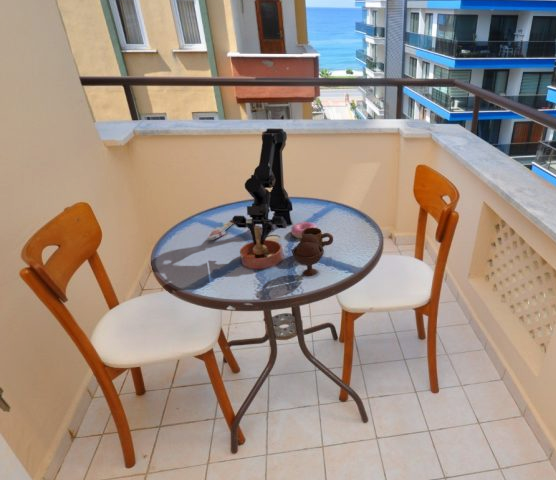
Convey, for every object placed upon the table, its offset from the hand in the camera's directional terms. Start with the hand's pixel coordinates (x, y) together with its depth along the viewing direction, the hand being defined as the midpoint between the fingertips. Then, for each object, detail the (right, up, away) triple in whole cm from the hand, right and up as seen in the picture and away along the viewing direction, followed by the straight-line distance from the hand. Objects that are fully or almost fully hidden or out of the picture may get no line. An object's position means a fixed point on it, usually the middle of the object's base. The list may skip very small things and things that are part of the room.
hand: (258, 244), depth 152 cm
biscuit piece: (+4, -5, +5) cm, 8 cm away
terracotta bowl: (0, -5, +5) cm, 8 cm away
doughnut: (+13, +7, +23) cm, 27 cm away
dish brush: (0, -5, +5) cm, 7 cm away
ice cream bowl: (+20, -11, -3) cm, 23 cm away
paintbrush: (-23, +8, +24) cm, 34 cm away
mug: (+21, -3, +9) cm, 23 cm away
